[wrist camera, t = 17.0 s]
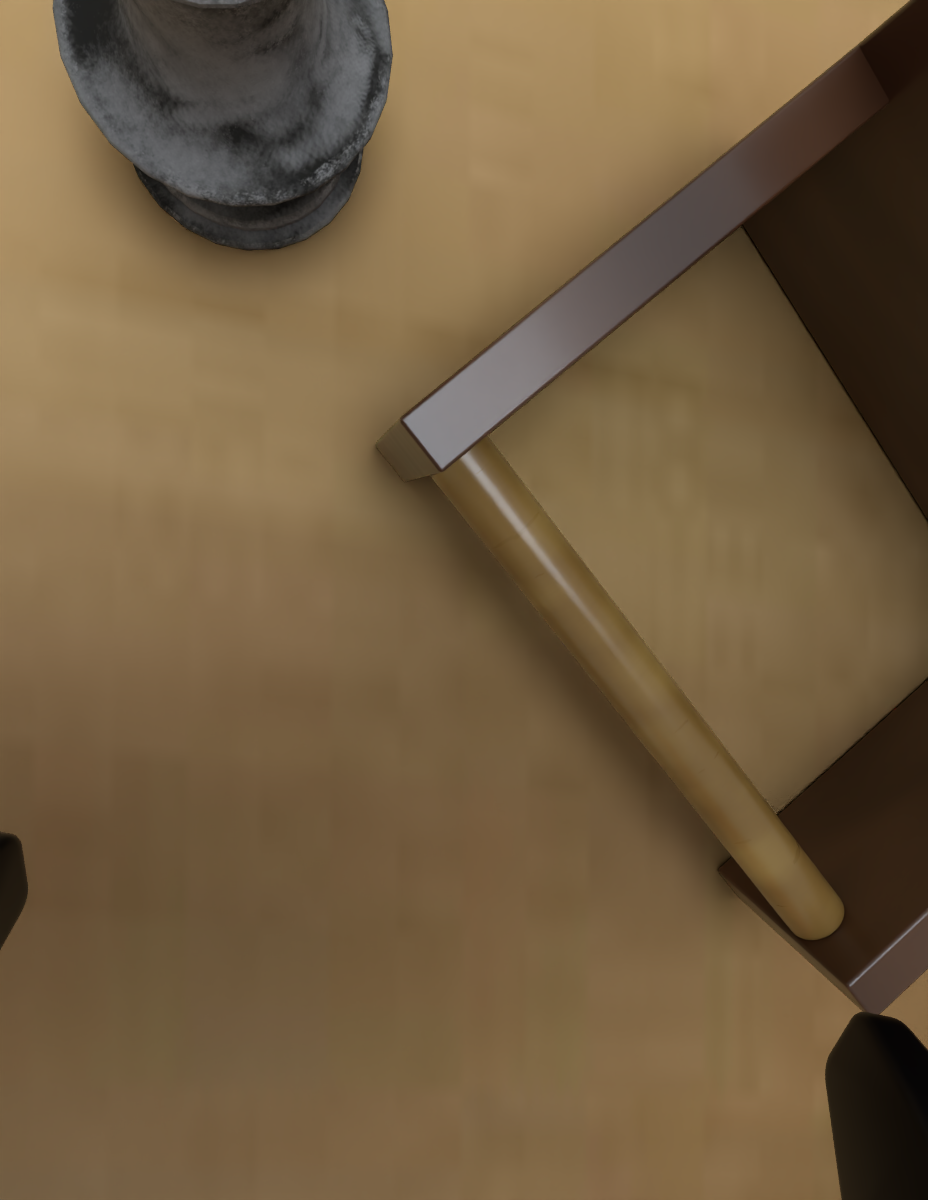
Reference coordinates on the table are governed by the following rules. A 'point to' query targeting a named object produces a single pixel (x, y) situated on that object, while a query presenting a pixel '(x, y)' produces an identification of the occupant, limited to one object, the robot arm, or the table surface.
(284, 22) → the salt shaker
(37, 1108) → the table surface
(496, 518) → the spice rack
